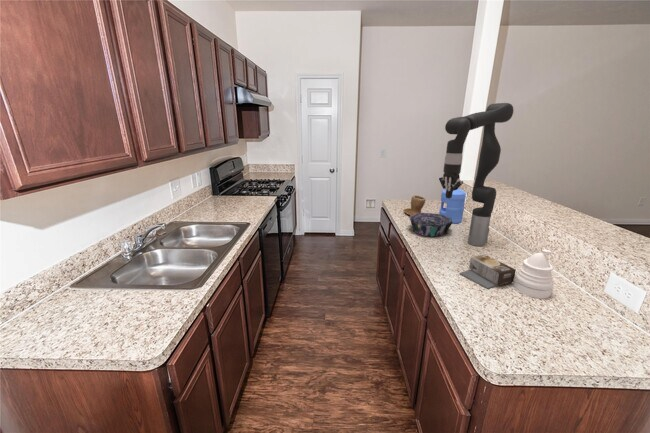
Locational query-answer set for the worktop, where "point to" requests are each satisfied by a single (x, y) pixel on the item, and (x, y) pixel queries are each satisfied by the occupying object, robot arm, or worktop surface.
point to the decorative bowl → (430, 224)
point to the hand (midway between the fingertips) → (448, 198)
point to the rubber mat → (478, 279)
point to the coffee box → (492, 269)
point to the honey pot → (535, 276)
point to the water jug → (453, 205)
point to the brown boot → (415, 205)
